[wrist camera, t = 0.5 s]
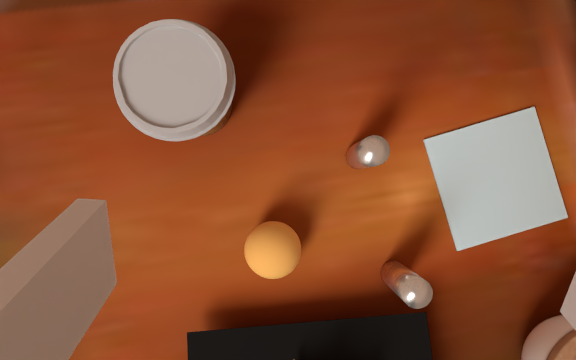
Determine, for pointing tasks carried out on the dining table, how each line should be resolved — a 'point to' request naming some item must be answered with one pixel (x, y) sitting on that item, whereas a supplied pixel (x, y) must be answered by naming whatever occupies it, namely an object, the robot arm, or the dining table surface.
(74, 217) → the robot arm
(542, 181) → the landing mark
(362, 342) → the lantern
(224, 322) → the dining table surface
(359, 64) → the dining table surface
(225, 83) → the disposable coffee cup
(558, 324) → the lidded jar
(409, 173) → the dining table surface
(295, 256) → the ball
